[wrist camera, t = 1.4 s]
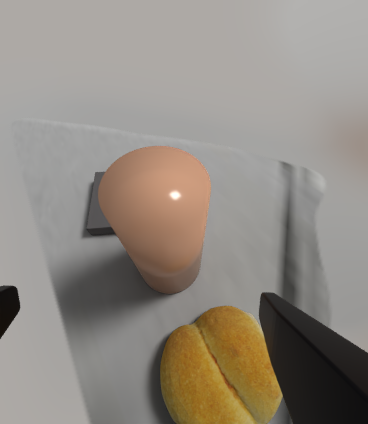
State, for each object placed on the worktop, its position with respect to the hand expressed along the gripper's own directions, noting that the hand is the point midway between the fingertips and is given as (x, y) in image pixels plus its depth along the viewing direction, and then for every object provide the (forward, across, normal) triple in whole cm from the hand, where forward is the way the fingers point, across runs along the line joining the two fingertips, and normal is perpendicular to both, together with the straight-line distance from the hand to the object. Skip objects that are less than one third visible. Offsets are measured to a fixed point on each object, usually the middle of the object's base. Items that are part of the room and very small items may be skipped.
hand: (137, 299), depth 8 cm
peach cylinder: (+14, 0, +5) cm, 15 cm away
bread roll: (+8, -4, +12) cm, 15 cm away
